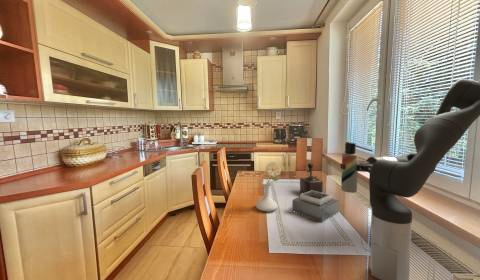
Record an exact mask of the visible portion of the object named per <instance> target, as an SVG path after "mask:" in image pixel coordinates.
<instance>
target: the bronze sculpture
mask: <svg viewBox="0 0 480 280" xmlns="http://www.w3.org/2000/svg"><path fill="white" fill-rule="evenodd" d="M307 167H308V170H307V171H306V173H309V176H306V177H301V178H299V192H300V194H302V193H306V192H308V191H311V190H313V191H317V192H321V193H323V183H324V182H323V181H322V180H320V179H319V178H318V177H317V176H316V175H315V176H313V173H312V172H313V171H314V170H313V168H314V164H313V163H312V162H311V163H308V164H307Z"/></svg>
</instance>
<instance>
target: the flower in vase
mask: <svg viewBox="0 0 480 280" xmlns="http://www.w3.org/2000/svg"><path fill="white" fill-rule="evenodd" d="M265 172H266V173H267V175H268V176H270V178H269V179H268V178H266V177H263V176H261V178H262V179H264V180H267V181H262V182H261V184H262V186H263V189H264V195H263V197H262V198H261V199H259V200H258V201H257V202H256V203H255V207H256V209H258V210H259V211H263V212H273V211H276V210H277V209H278V203H277V202H276V201H275V200H273V199H272V198H271V197H270V187H271V185H272V182H271V180H272V181H273V182H277V181H280V178H279V177H278V176H279V175H280V174H281V172H282V168H281V167H280V164H279V163H278V162H275V161H270V162H269V163H266V167H265Z"/></svg>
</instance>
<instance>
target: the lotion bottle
mask: <svg viewBox="0 0 480 280" xmlns="http://www.w3.org/2000/svg"><path fill="white" fill-rule="evenodd" d="M356 148H357V147H356V143H355V142H350V141H346V142H345V144H344V152H343V153H342V155H341V158H342V159H341V164H342V169H341V178H340V179H341V183H340V184H341V185H340V186H341V188H340V190H341V191H342V192H345V193H352V194H353V193H357V192H358V191H357V190H358V172H359V171H357V170H356V166H357V165H358V161H359V155H358V154H357V153H356V151H357V149H356ZM343 164H345V166H346V169H345V170H343Z"/></svg>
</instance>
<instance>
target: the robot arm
mask: <svg viewBox="0 0 480 280" xmlns="http://www.w3.org/2000/svg"><path fill="white" fill-rule="evenodd" d="M452 108H455V109H456V108H457V110H454V111H452ZM458 109H459V110H458ZM479 117H480V81H478V80H473V79H468V78H460V79H458V80H456V81H455V82H454V83H453V84H452V85H451V87H450V88H448V91H447V92H446V94H445V96H444V98H443V99H442V101H441V103H440V105H439V107H438V110H437V112H436V113H435V115H433V116H431V117H430V118H428V119H427V120H426V121H425V122H424V123H423V124H422V125H421V126H420V127H419V128H418V129H417V130H416V131H415V133H414V136H413V143H414V147H415V151H416V152H409V153H407V154H403V155H401V156H382V155H381V156H369V157H368V158H367V159H366V160H358V165H357V166H356V170H357V171H358V172H365V173H368V174H369V178H368V181H369V182H368V183H369V186H368V187H369V204H370V207H371V226H370V227H371V233H370V253H369V254H370V256H369V257H370V259H369V269H370V272H371V276H372V277H374V278H376V279H378V280H410V265H411V248H412V247H411V245H412V244H411V243H412V229H413V228H412V227H413V226H412V225H413V213H412V210H411V209H410V208H409V207H408V206H406V204H404V203H403V202H401V201H400V200H399V199H398V198H397V196H398V197H401V198H413V197H414V196H416V195H417V194H418V193H419V192H420V191H421V189H422V188H423V187H424V185H425V183H426V182H427V181H428V179H429V178H430V176H431V175H432V174H433V173H434V172H435V171H436V168H437V166H438V164H439V163H440V162H441V161H442V159H443V158H444V157H445V156H446V155H447V153H448V152H449V151H451V149H452V148H454V146H455V145H456V144H457V142H459V141H460V140H461V138H462V137H463V135H464V134H465V133H466V132H467V131H468V129H469V128H470V127H471V126H472V124H473V123H474V122H475V121H476V120H477V119H478V118H479ZM340 169H341V170H342V163H340ZM345 169H346V166H345V164H343V170H345Z"/></svg>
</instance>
